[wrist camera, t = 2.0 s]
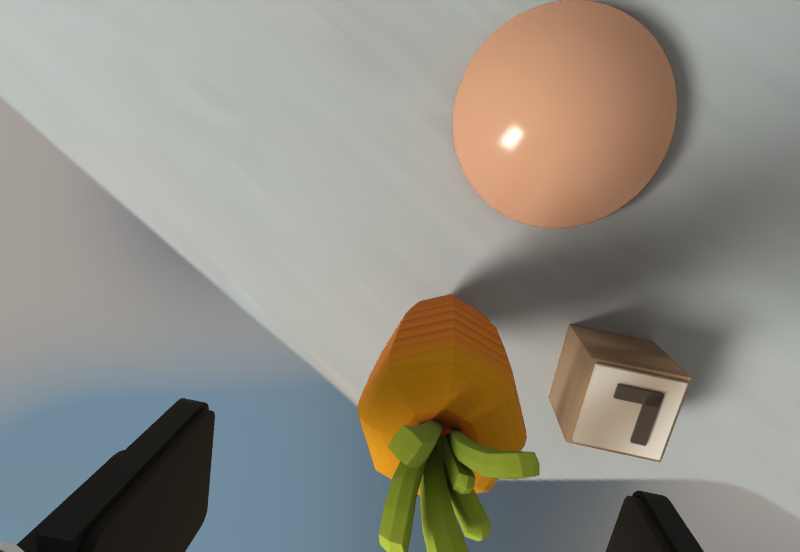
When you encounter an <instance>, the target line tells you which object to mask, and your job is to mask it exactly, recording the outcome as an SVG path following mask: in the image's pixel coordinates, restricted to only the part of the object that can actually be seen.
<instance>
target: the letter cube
mask: <svg viewBox="0 0 800 552" xmlns="http://www.w3.org/2000/svg"><path fill="white" fill-rule="evenodd" d="M691 379H692V377H690V376H689V375H688V374H687V373H686V372H685V371H684V370H683V369H682V368H681V367H680V366H679V365H678V364H677V363H675V362H674V361H673V360H672V359H671V358H670V357H669V356H668V355H667V354H666V353H665V352H664V351H663V350H662V349H660V348H659V347H658V346H657V345H656V344H655V343H654V342H653V341H650V340H645V339H640V338H635V337H630V336H625V335H620V334H615V333H609V332H604V331H599V330H594V329H589V328H584V327H579V326H574V325H569V327H568V331H567V334H566V338H565V341H564V345H563V348H562V352H561V355H560V359H559V362H558V366H557V369H556V373H555V376H554V380H553V383H552V387H551V390H550V394H549V399H550V402H551V405H552V407H553V410H554V412H555V415H556V417H557V420H558V422H559V425H560V428H561V430H562V433H563V435H564V438H565V440H566V442H568V443H573V444H578V445H582V446H587V447H592V448H596V449H601V450H606V451H610V452H615V453H620V454H624V455H629V456H634V457H638V458H643V459H648V460H652V461H657V462H661V460H662V458H663V455H664V452H665V449H666V447H667V444H668V441H669V439H670V436H671V433H672V431H673V428H674V425H675V422H676V420H677V417H678V414H679V412H680V409H681V406H682V404H683V401H684V398H685V395H686V393H687V390H688V387H689V385H690V382H691Z"/></svg>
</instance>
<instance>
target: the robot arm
mask: <svg viewBox="0 0 800 552" xmlns="http://www.w3.org/2000/svg"><path fill="white" fill-rule="evenodd" d="M214 420H215V414H214V412H213V411H210V410H209V407H208V404H207V403H204V402H199V401H194V400H189V399H185V398H182V399H180V400H178V401H177V402H176V403H175V404H174V405H173V406H172V407H171V408H170V409H168V410H167V411H166V412H165V413H164V414H163V415H162V416H161V417H160V418H159V419H158V420H157V421H156V422H155V423H153V424H152V425H151V426H150V427H149V428H148V429H147V430H146V431H145V432H144V433H143V434H142V435H141V436H140V437H138V439H136V440H135V441H134V442H133V443H132V444H131V445H130V446H129V447H128V448H127V449H126V450H123V451H119V452H118V453H117V454H115V455H114V456H113V457H111V458H110V459H109V460H108V461H107V462H106V463H105V464H104V465H103V466H102V467H101V468H100V469H98V470H97V471H96V472H95V473H94V474H93V475H92V476H91V477H90V478H89V479H88V480H87V481H85V482H84V483H83V484H82V485H81V486H80V487H79V488H78V489H77V490H76V491H75V492H73V493H72V494H71V495H70V496H69V497H68V498H67V499H66V500H65V501H64V502H63V503H62V504H61V505H59V506H58V507H57V508H56V509H55V510H54V511H53V512H52V513H51V514H50V515H48V516H47V517H46V518H45V519H44V520H43V521H42V522H41V523H40V524H39V525H38V526H37V527H35V528H34V529H33V530H32V531H31V532H30V533H29V534H28V535H27V536H26V537H25V538H24V539H23V540H21V541H20V542H19V543H18V544H17V545H14V544H11V543H8V542H0V552H185V551H186V549H187V548H188V546H189V545H190V543H191V541H192V540H193V538H194V537H195V535H196V534H197V532H198V530H199V529H200V527H201V526H202V523H203V522H204V518H205V516H206V513H207V507H208V495H209V483H210V471H211V470H210V469H211V458H212V446H213V433H214ZM606 552H703V550H702V549H701V547H700V545H699V544H698V542H697V541H696V539H695V538H694V536H693V535H692V533H691V532H690V530H689V529H688V528H687V526H686V524H685V523H684V521H683V520H682V518H681V517H680V516H679V514H678V512H677V511H676V509H675V508H674V506H673V505H672V503H671V502H670V501H669V499H668V498H667V497H665V496H663V495H658V494H653V493H648V492H643V491H636V492H635V493H634V494H633V496H627V497H626V498H625V500H624V502H623V505H622V508H621V511H620V513H619V516H618V519H617V522H616V524H615V528H614V530H613V533H612V536H611V539H610V541H609V544H608V547H607V550H606Z"/></svg>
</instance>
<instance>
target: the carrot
mask: <svg viewBox="0 0 800 552" xmlns="http://www.w3.org/2000/svg"><path fill="white" fill-rule="evenodd" d="M358 413H359V418H360V421H361V425H362V428H363V431H364V434H365V437H366V441H367V444H368V447H369V450H370V453H371V457H372V460H373V463H374V466H375V469H376V471H378V472H380V473H381V474H383V475H385V476H387V477H388V478H391V479H392V481H391V485H390V488H389V491H388V495H387V498H386V502H385V506H384V510H383V516H382V521H381V526H380V531H379V539H380V544H381V546H382V547H383V548H384V549H385V550H386V551H387V552H408V548H409V542H410V537H411V531H412V524H413V517H414V510H415V503H416V497H417V494H418V495H420V502H421V516H422V529H423V535H424V539H425V543H426V548H427V552H469V551H468V549H467V546H466V543H465V541H464V538H463V535H462V533H461V530H460V528H459V525H458V522H457V519H456V517H455V514H456V516H457V518H458V521H459V523H460V525H461V528H462V530H463V533H464V535H465V537H468V538H471V539H473V540H476V541H480V540H483V539H484V538H486V537H487V536H488V535H489V534H491V525H490V521H489V518H488V516H487V515H486V513H485V511H484V509H483V507H482V505H481V503H480V501H479V499H478V497H477V495H476V493H481V492H487V491H490V489H491V488H492V487H493V486H494V484H495V483H496V482H497V480H498V479H499V478H501V479H521V478H528V477H534V476H538V475H539V462H538V459H537V457H536V455H535V453H534V452H523V451H521V450H522V448H523V447H524V446H525V442H526V439H527V437H526V429H525V424H524V420H523V416H522V411H521V407H520V403H519V398H518V394H517V390H516V385H515V381H514V377H513V372H512V369H511V366H510V363H509V360H508V357H507V354H506V351H505V348H504V346H503V343H502V341H501V339H500V336H499V334H498V331H497V329H496V327H495V326H494V325H493V324H492V323H491V322H490V320H489V319H488V318H487V317H486V316H485V315H484V314H482V313H481V312H480V311H479V310H477V309H476V308H474V307H472V306H471V305H469V304H467V303H466V302H464V301H462V300H460V299H459V298H457V297H455V296H454V295H452V294H450V295H446V296H441V297H437V298H432V299H428V300H423V301H420V302H418V303H417V304H416V305H414V306H413V307H412V308H411V309H410V310H409V311H408V312H407V313H406V314H405V316H404V317H403V319H402V321H401V322H400V324H399V325H398V327H397V329H396V330H395V332H394V333H393V335H392V337H391V338H390V340H389V342H388V343H387V345H386V346H385V348H384V350H383V351H382V353H381V355H380V357H379V359H378V361H377V363H376V365H375V367H374V369H373V371H372V373H371V375H370V377H369V379H368V382H367V384H366V386H365V388H364V391H363V393H362V395H361V398H360V400H359V403H358ZM453 509H454V510H453ZM454 511H455V514H454Z"/></svg>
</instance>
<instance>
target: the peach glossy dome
mask: <svg viewBox="0 0 800 552" xmlns="http://www.w3.org/2000/svg"><path fill="white" fill-rule="evenodd" d="M676 114H677V92H676V85H675V79H674V76H673V72H672V69H671V66H670V63H669V61H668V59H667V57H666V55H665V52H664V50H663V49H662V47H661V46H660V44H659V43H658V41H657V40H656V38H655V37H654V36H653V35H652V34H651V33H650V32H649V31H648V30H647V28H646V27H644V26H643V25H642V24H641V23H640V22H638V21H637V20H636V19H635V18H633V17H632V16H630V15H628V14H626V13H625V12H623V11H621V10H619V9H616V8H614V7H611V6H609V5H606V4H602V3H598V2H593V1H584V0H566V1H557V2H552V3H547V4H544V5H541V6H538V7H535V8H532V9H530V10H528V11H526V12H524V13H522V14H520V15H518V16H516V17H514V18H513V19H511V20H510V21H508V22H507V23H505V24H504V25H502V26H501V27H500V28H499V29H498V30H497V31H496V32H494V33H493V34H492V35H491V36H490V37H489V38H488V39H487V40H486V42H485V43H484V44H483V45H482V46H481V47H480V49H479V50H478V51H477V53H476V54H475V56H474V57H473V58H472V60H471V62H470V64H469V65H468V67H467V69H466V71H465V73H464V75H463V78H462V80H461V83H460V85H459V88H458V92H457V96H456V100H455V105H454V113H453V137H454V145H455V149H456V153H457V157H458V160H459V163H460V165H461V168H462V170H463V172H464V174H465V176H466V177H467V179H468V181H469V183H470V184H471V185H472V187H473V188H474V189H475V191H476V192H477V193H478V194H479V195H480V196H481V197H482V198H483V199H484V200H485V201H486V202H487V203H488V204H489V205H490V206H491V207H493V208H494V209H495V210H497V211H498V212H500V213H502V214H503V215H505V216H507V217H509V218H511V219H513V220H516V221H518V222H521V223H524V224H528V225H532V226H536V227H544V228H566V227H573V226H579V225H583V224H586V223H590V222H593V221H595V220H598V219H600V218H603V217H605V216H607V215H609V214H611V213H612V212H614V211H616V210H618V209H619V208H621V207H622V206H623V205H625V204H626V203H628V202H629V201H630V200H631V199H632V198H633V197H635V196H636V195H637V194H638V193H639V192H640V191H641V190H642V189H643V188H644V187H645V185H646V184H647V183H648V182H649V181H650V180H651V178H652V177H653V175H654V174H655V173H656V171H657V170H658V168H659V166H660V165H661V163H662V161H663V159H664V157H665V155H666V153H667V150H668V148H669V145H670V143H671V140H672V136H673V132H674V128H675V123H676Z"/></svg>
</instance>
